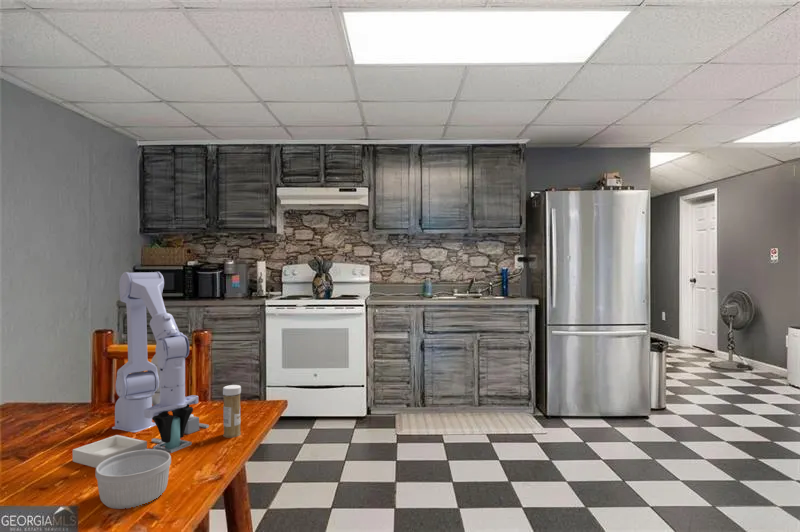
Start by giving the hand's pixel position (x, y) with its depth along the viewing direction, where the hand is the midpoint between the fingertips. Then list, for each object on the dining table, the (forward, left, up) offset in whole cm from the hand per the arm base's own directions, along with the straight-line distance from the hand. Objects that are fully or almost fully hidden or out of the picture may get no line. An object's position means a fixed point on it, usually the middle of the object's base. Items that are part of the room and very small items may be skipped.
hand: (172, 439), depth 123 cm
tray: (-9, -10, -2) cm, 14 cm away
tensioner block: (0, -4, -2) cm, 5 cm away
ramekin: (+14, -21, -3) cm, 25 cm away
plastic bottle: (-34, +25, -3) cm, 42 cm away
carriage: (-6, +10, -2) cm, 12 cm away
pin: (0, 0, -2) cm, 2 cm away
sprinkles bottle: (+7, +13, -3) cm, 15 cm away
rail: (-6, +8, -2) cm, 10 cm away
